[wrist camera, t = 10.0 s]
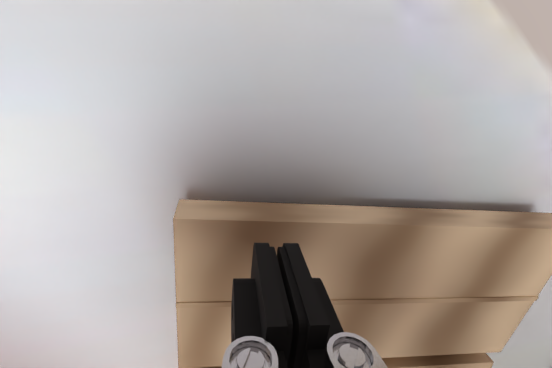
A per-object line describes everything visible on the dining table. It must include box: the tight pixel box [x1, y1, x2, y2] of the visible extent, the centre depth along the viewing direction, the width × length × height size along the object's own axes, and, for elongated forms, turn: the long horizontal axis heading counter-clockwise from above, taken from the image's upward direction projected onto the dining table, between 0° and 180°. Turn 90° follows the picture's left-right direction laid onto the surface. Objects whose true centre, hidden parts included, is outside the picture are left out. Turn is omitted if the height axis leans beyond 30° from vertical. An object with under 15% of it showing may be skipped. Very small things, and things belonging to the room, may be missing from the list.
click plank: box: [173, 199, 552, 368], centre depth 17 cm, size 20×10×2 cm, turn 84°
